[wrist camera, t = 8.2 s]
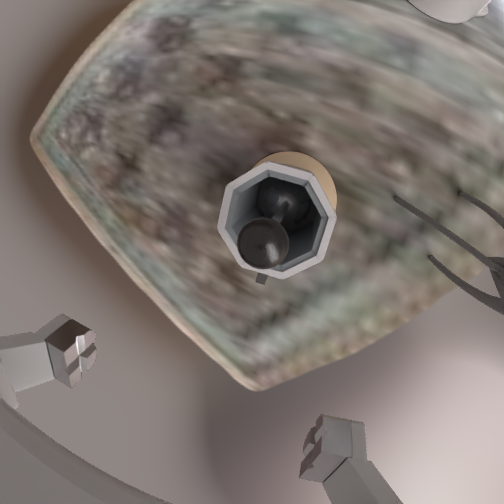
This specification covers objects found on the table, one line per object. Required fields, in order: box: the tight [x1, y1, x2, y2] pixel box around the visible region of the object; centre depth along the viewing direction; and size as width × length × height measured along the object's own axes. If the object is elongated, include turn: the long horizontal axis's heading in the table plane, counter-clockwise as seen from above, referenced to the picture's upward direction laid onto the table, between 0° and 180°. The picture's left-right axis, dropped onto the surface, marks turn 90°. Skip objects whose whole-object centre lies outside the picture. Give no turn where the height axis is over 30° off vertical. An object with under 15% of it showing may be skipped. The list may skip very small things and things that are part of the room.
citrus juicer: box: [394, 192, 504, 315], centre depth 24 cm, size 11×10×30 cm
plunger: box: [237, 180, 310, 269], centre depth 29 cm, size 6×6×19 cm
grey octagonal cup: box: [217, 151, 337, 284], centre depth 35 cm, size 14×13×14 cm
